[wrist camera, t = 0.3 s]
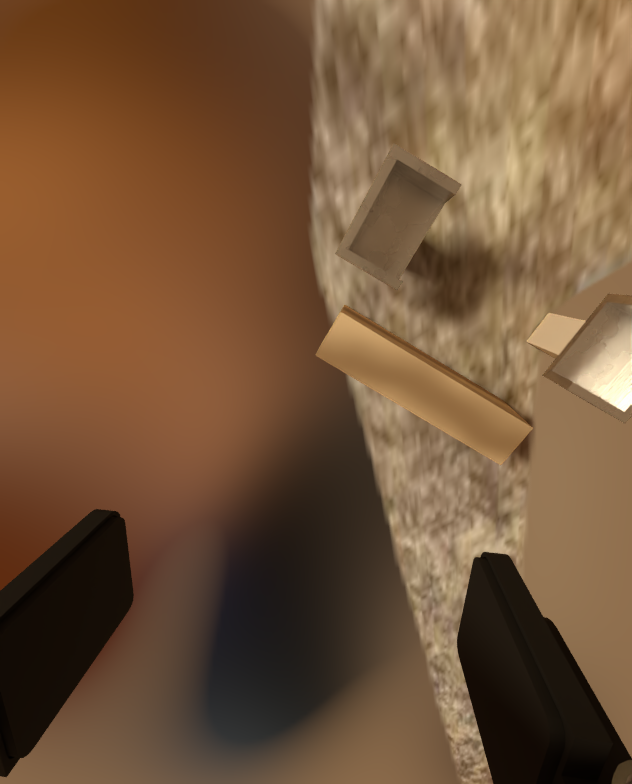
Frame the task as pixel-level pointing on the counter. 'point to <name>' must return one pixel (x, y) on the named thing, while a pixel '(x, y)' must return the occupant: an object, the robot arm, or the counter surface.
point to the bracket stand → (553, 335)
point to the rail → (423, 385)
